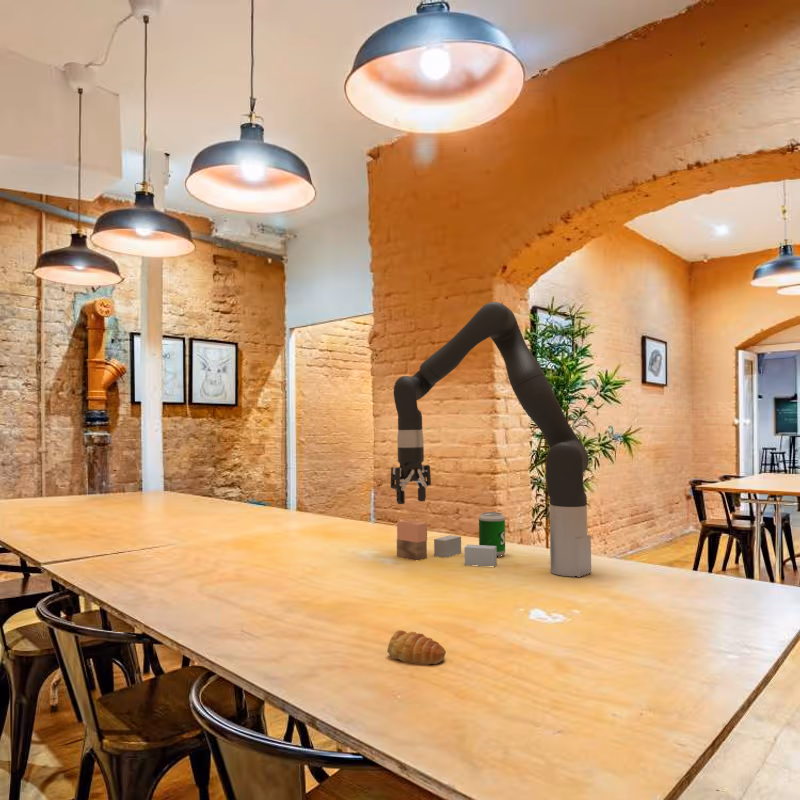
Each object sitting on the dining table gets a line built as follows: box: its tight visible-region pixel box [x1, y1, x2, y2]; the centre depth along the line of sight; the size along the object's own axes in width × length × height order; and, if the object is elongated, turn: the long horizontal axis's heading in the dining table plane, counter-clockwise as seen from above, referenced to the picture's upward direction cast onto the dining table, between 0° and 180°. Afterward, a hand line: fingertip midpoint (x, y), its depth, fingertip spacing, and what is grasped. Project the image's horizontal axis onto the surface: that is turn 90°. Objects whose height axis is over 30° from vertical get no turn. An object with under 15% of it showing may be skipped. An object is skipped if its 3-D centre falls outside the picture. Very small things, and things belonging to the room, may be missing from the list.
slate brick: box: [433, 534, 462, 558], centre depth 184 cm, size 8×4×5 cm, turn 141°
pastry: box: [387, 630, 447, 666], centre depth 104 cm, size 9×7×4 cm
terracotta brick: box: [396, 519, 428, 543], centre depth 180 cm, size 8×4×5 cm, turn 46°
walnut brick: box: [396, 538, 428, 561], centre depth 180 cm, size 8×4×5 cm, turn 45°
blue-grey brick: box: [464, 544, 498, 567], centre depth 171 cm, size 8×4×5 cm, turn 72°
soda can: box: [478, 511, 506, 557], centre depth 183 cm, size 8×8×12 cm
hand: (411, 502), depth 181 cm, fingers open, 8 cm apart
